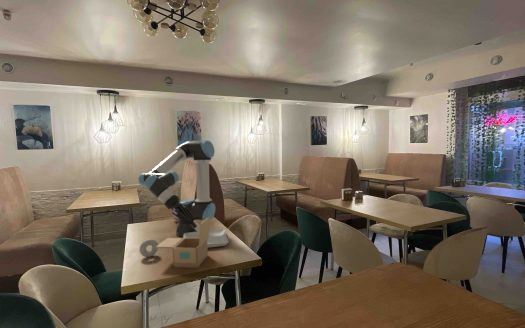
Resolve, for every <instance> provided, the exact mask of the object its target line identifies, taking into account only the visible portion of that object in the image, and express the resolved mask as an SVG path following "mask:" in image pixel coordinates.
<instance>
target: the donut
mask: <svg viewBox="0 0 525 328" xmlns="http://www.w3.org/2000/svg"><path fill="white" fill-rule="evenodd" d="M158 245H159V242H158V241H157V240H155V239H154V238H148V239H145V240H143V241H142V242H141V243H140V245H139V253H140V255H141V256H143V257H144V258H151V257H154V255H156V254H157V253H158V250H159V248H156V246H158ZM149 246H151V249H150V250H147V247H149Z"/></svg>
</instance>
